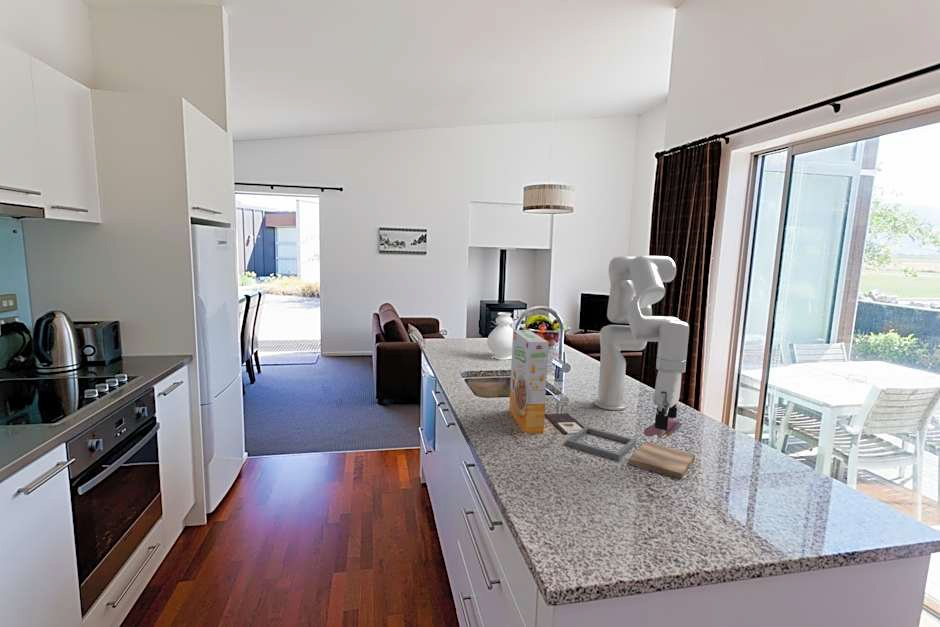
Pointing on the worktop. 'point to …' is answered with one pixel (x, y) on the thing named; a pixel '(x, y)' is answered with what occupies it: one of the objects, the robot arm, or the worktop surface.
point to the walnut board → (662, 459)
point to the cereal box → (528, 380)
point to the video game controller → (672, 427)
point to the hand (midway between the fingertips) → (665, 424)
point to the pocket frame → (596, 450)
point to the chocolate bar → (565, 423)
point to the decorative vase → (501, 337)
